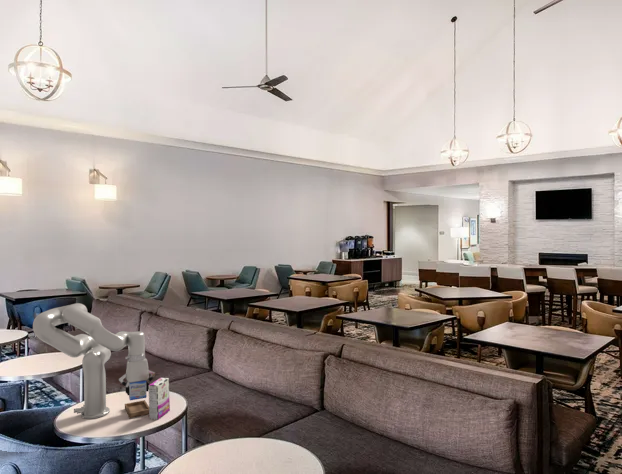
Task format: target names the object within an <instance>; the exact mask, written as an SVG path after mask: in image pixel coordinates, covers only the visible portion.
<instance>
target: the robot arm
mask: <svg viewBox="0 0 622 474" xmlns="http://www.w3.org/2000/svg"><path fill="white" fill-rule="evenodd" d="M62 324H69V325H71V326H73V327H75V328H77V329H79V330H81V331H82V332H84V333H80V334H77V335H73V334H71V333H69V332H67V331H65V330H63V329H60V328H57V327H56V326H59V325H62ZM32 330H33V333H34V335H35V336H36V337H37V338H38V340H39V341H42V342H43V343H45V344H47V345H49V346H51V347H52V348H54V349H56V350H57V351H59V352H61V353H63V354H65V355H67V356H68V357H70V358H78V357H80V356H82V355H83V357H82V361H81V362H82V364H81V365H82V370H83V385H84V387H83V391H84V392H83V394H84V395H83V397H84V399H83V400H84V404H82V405H83V406H81V407H77V408H73V413H74V414H77V415H78V414H80V416H81V418H82V419H87V420H90V419H97V418H102V417H105V416H106V415H108V414H109V413H110V408H109V407H108V406H107V388H106V387H107V386H106V385H107V382H106V381H107V380H106V378H107V377H106V376H107V375H106V369H105V364H106V363H107V361H109V360H110V358H111V356H112V352H119V351H121V350H123V349H124V348H125V347H127V346H128V348H127V349H128V354H127V356H125V360H127V362H126V368H125V369H126V371H125V373H124V374H123V375H122V376H121V377H119V378H118V381H119V382H120V384H122V385H123V387H125V394H127V396H129V383H132V382H138V381H144V380H146V393H147V392H148V393H149V386H148V385H150V384H151V382H152V380H153V379H154V377H156V372H155V371H153V370H150V369H149V363H148V358H146V343H145V342H146V341H145V339H146V338H145V333H144V332H143V331H126V330H125V331H119V332H116V333H113V332H111V331H110V330H108V329H107V328H105V327H104V326H103V323H102V320H101V319H100V317H98V316H96V315H94V314H92V313H90V312H88V308H87V306H86V305H85V304H83V303H79V302H76V303H72V304H68V305H63V306H59V307H54V308H50V309H48V310H45V311H43V312H41V313H39V314H38V315H36V317H35V318H34V319H33V322H32ZM111 351H112V352H111ZM124 379H125V380H126V381H125V380H124Z"/></svg>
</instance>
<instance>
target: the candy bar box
mask: <svg viewBox="0 0 622 474" xmlns="http://www.w3.org/2000/svg"><path fill="white" fill-rule="evenodd" d="M148 386H149V389H148V406H149V415H148V417H149V418H148V419H149V420H154V419H155V420H157V421H159V420H160V419H161V418H163V417H164V416H165V415H166V414H167V413H169V412H170V410H171V407H170V406H171V405H170V403H171V402H170V378H169V377H159V378H158V379H157V380H154V381H153V382H152V383H151V382H150V383H149V385H148Z"/></svg>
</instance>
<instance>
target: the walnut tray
mask: <svg viewBox="0 0 622 474" xmlns="http://www.w3.org/2000/svg"><path fill="white" fill-rule="evenodd" d="M124 410H125V412H126V415H127V417H128V419H129V420H131V419H136V418H140V417H145V416H149V403H147V401H146V399H144V400H138V401H137V400H136V401H133V402H132V401H131V402H128V403H124Z"/></svg>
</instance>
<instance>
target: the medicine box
mask: <svg viewBox="0 0 622 474" xmlns="http://www.w3.org/2000/svg"><path fill="white" fill-rule="evenodd" d="M147 397H148V396H147V391H146V380H144V381H138V382H132V383H129V395H128V398H129V401H137V400H142V399H147Z"/></svg>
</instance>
